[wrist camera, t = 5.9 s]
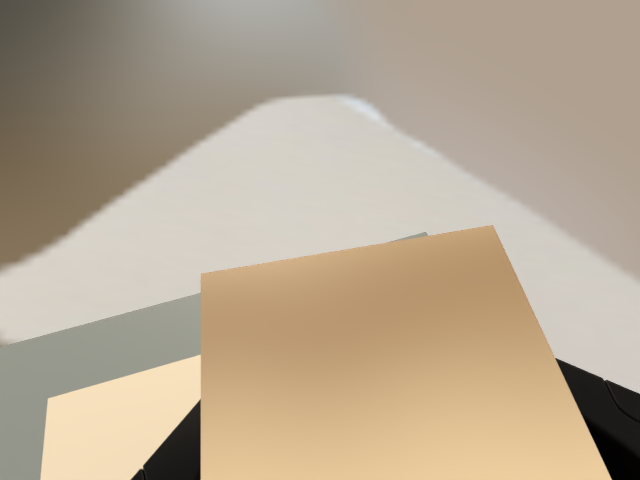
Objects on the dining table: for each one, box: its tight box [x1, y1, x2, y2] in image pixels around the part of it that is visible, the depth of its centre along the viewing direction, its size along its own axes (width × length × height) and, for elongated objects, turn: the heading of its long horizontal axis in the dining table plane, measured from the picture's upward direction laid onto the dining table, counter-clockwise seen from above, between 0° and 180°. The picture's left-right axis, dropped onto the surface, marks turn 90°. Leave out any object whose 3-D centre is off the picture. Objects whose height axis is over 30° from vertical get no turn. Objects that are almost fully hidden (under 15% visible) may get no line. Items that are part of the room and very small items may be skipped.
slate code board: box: [0, 232, 428, 480], centre depth 14 cm, size 24×14×1 cm, turn 105°
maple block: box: [201, 225, 612, 480], centre depth 9 cm, size 5×5×10 cm
